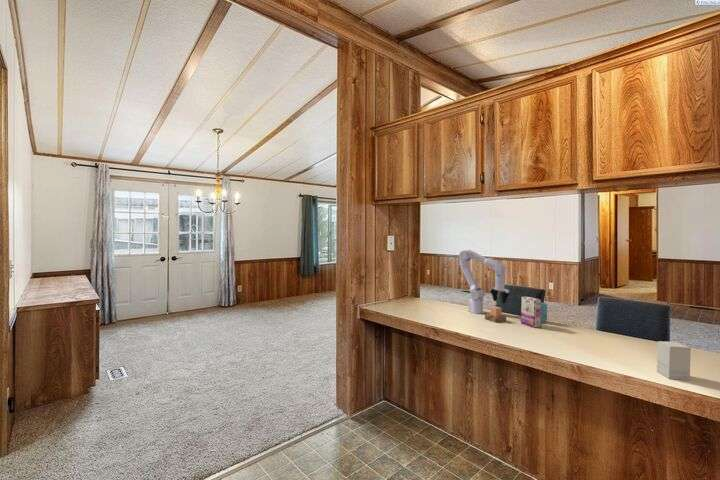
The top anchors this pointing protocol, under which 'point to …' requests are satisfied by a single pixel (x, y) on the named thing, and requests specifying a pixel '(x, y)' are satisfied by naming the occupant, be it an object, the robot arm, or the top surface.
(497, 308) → the terracotta block
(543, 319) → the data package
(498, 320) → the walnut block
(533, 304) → the candy bar box
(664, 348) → the supplement box
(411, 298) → the top surface
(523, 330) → the top surface
